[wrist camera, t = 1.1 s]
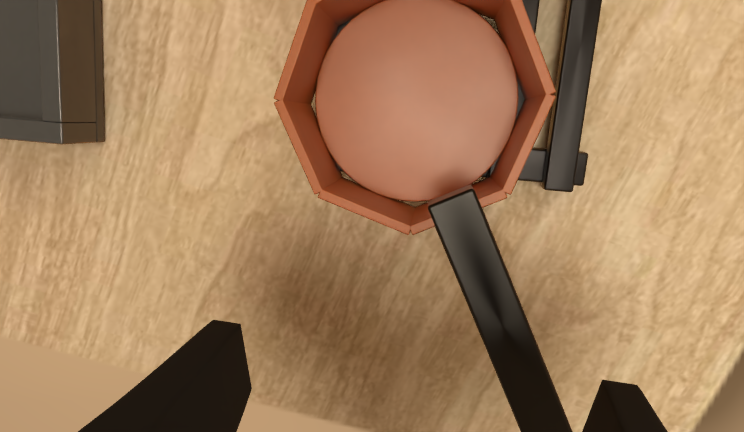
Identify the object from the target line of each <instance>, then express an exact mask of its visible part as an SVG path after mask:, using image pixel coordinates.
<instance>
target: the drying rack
mask: <svg viewBox="0 0 744 432" xmlns="http://www.w3.org/2000/svg"><path fill="white" fill-rule="evenodd" d="M539 1H540V0H522V2H523V4H524V7H525V10H526V12H527V15H528V18H529V20H530V23H531V26H532V28H533V31H534V34H535V32H536V24H537V16H538V9H539ZM601 2H602V0H568V1H567V8H566V15H565V22H564V29H563V36H562V44H561V51H560V58H559V65H558V72H557V79H556V86H555V90H556V92H555V93H554V96H556V98H555V100H554V102H553V108H552V115H551V122H550V129H549V136H548V143H547V149H541V148H532V150H531V152H530V154H529V156H528V158H527V161H526V163H525V165H524V167H523V169H522V171H521V174H520V176H519V178H518V180H522V181H533V182H542V188H543V189H545V190H553V191H564V192H572V191H573V186H574V185H579V186H582V185H583V184H584V178H585V171H586V165H587V158H588V154H587V153H585V152H579V147H580V140H581V134H582V127H583V121H584V114H585V107H586V101H587V94H588V88H589V81H590V75H591V68H592V61H593V55H594V48H595V42H596V35H597V29H598V22H599V16H600V9H601ZM350 21H351V20H350ZM350 21H348V22H346V23H344V24H342V25H340V26H339V27H338V29H337V32H336V35H335V38H336V36H337V35H338V34H339V32H340V31H341V30H342V29H343V28H344V27H345V26H346V25H347V24H348V23H349V22H350ZM335 38H334V39H335ZM517 82H518V81H517ZM524 100H525V99H524V97H523V94H522V91H521V89H520V86H519V84H518V108H517V115H516V118H517V116H518V113H519V111H520V109H521V107H522V105H523V102H524ZM498 158H499V157H498ZM497 160H498V159H497ZM497 160H496V162H497ZM496 162H495V163H494V164H493V165H492V166H491V167H490V168H489V170H488V171H487V172H486V173H485V174H483V175H482V176H481V177H487V178H489V177H490V176H491V174H492V171H493V169H494V167H495V165H496ZM337 165H338V164H337ZM338 168H339V170H340V171H341V172H344V171H343V170H342V169H341V167H340V166H339V165H338ZM515 185H516V184H515Z"/></svg>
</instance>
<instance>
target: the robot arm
mask: <svg viewBox="0 0 744 432" xmlns="http://www.w3.org/2000/svg"><path fill="white" fill-rule="evenodd" d="M251 389H252V387H251V382H250V376H249V370H248V365H247V359H246V353H245V347H244V342H243V336H242V330H241V324H237V323H231V322H224V321H218V320H212V321H211V322H210V323H209V324H207V325H206V326H205V327H204V328H203V329H202V330H200V331H199V332H198V333H197V334H196V335H195V336H193V337H192V338H191V339H190V340H189V341H188V342H187V343H185V344H184V345H183V346H182V347H181V348H180V349H179V350H177V351H176V352H175V353H174V354H173V355H172V356H171V357H169V358H168V359H167V360H166V361H165V362H164V363H162V364H161V365H160V366H159V367H158V368H157V369H155V370H154V371H153V372H152V373H151V374H150V375H148V376H147V377H146V378H145V379H144V380H142V381H141V382H140V383H139V384H138V385H137V386H135V387H134V388H133V389H132V390H130V391H129V392H128V393H127V394H126V395H124V396H123V397H122V398H121V399H119V400H118V401H117V402H116V403H114V404H113V405H112V406H111V407H109V408H108V409H107V410H105V411H104V412H103V413H102V414H100V415H99V416H98V417H97V418H95V419H94V420H92V421H91V422H90V423H89V424H87V425H86V426H85V427H83V428H82V429H81V430H80V431H78V432H236V431H237V429H238V426H239V423H240V421H241V418H242V415H243V412H244V410H245V407H246V404H247V401H248V398H249V395H250V392H251ZM582 432H667V430H666V429H665V427H664V426H663V424H662V422H661V421H660V419H659V418H658V416H657V415H656V413H655V411H654V410H653V408H652V407H651V405H650V403H649V402H648V400H647V399H646V397H645V396H644V394H643V392H642V391H641V390H640V388H639V387H638V386H637V385H633V384H627V383H620V382H614V381H607V380H602V382H601V385H600V387H599V390H598V392H597V395H596V397H595V400H594V403H593V405H592V408H591V410H590V413H589V416H588V418H587V421H586V423H585V426H584V429H583V431H582Z"/></svg>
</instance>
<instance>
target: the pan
mask: <svg viewBox="0 0 744 432" xmlns="http://www.w3.org/2000/svg"><path fill="white" fill-rule="evenodd" d="M479 14H481V15H484V16H486V17H489V18H491V19H494V21H495V24H496V26H497V29H498V31H499V34H500V36H499V34H498V33H497V32H496V31H495V29H494V28H493V27H492V26H491V25H490V24H489V23H488V22H487V21H486V20H485V19H484V18H483V17H481V16H480V15H479ZM350 20H351V21H350ZM348 21H350V22H349V23H348V24H347V25H346V26H345V27H344V28H343V29H342V30H341V31H340V32H339V34H338V35H337V36H336V38H335V35H336V32H337V29H338V27H339V26H340V25H342V24H344V23H346V22H348ZM334 38H335V39H334ZM517 81H518V82H517ZM518 84H519V86H520V89H521V91H522V94H523V97H524V99H525V100H524V102H523V105H522V107H521V109H520V111H519V113H518V116H517V118H516V115H517V108H518ZM315 91H316V100H315V105H316V115H317V117H316V115H315V112H314V110H313V108H312V106H311V103H312V100H313V97H314V94H315ZM555 92H556V90H555V87H554V84H553V82H552V79H551V76H550V74H549V71H548V68H547V66H546V63H545V60H544V58H543V55H542V52H541V50H540V47H539V44H538V42H537V39H536V36H535V34H534V31H533V28H532V26H531V23H530V20H529V18H528V15H527V12H526V10H525V7H524V4H523V2H522V0H307V1H306V4H305V7H304V10H303V13H302V16H301V19H300V22H299V25H298V28H297V31H296V34H295V37H294V40H293V43H292V46H291V49H290V52H289V55H288V57H287V60H286V63H285V66H284V69H283V72H282V75H281V78H280V81H279V84H278V87H277V90H276V93H275V96H274V99H276V100H278V101H276V102H275V103H274V104H275V106H276V109H277V111H278V113H279V115H280V118H281V120H282V122H283V124H284V127H285V129H286V131H287V133H288V136H289V138H290V140H291V142H292V145H293V147H294V149H295V151H296V154H297V156H298V158H299V160H300V163H301V165H302V167H303V169H304V172H305V174H306V176H307V178H308V181H309V183H310V185H311V187H312V190H313V192H314V194H318V193H319V195H318V198H320V199H323V200H325V201H327V202H330V203H332V204H335V205H337V206H339V207H342V208H344V209H347V210H349V211H352V212H354V213H356V214H359V215H361V216H364V217H366V218H368V219H371V220H373V221H376V222H378V223H380V224H383V225H385V226H388V227H390V228H393V229H395V230H397V231H400V232H402V233H405V234H407V235H409V233H410V231H411V233H412V235H414V234H417V233H419V232H422V231H424V230H427V229H429V228H432V227H435V228H436V230H437V232H438V235H439V237H440V239H441V242H442V244H443V247H444V249H445V251H446V254H447V256H448V259H449V261H450V263H451V266H452V268H453V271H454V273H455V275H456V278H457V280H458V283H459V285H460V287H461V290H462V292H463V294H464V297H465V299H466V302H467V304H468V306H469V309H470V311H471V314H472V316H473V318H474V321H475V323H476V326H477V328H478V330H479V333H480V335H481V338H482V340H483V342H484V345H485V347H486V349H487V352H488V354H489V357H490V359H491V361H492V364H493V366H494V369H495V371H496V373H497V376H498V378H499V381H500V383H501V385H502V388H503V390H504V393H505V395H506V397H507V400H508V402H509V404H510V407H511V409H512V412H513V414H514V416H515V419H516V421H517V424H518V426H519V428H520V431H521V432H572V429H571V427H570V424H569V422H568V419H567V417H566V414H565V412H564V409H563V407H562V404H561V402H560V400H559V397H558V395H557V392H556V390H555V387H554V385H553V382H552V380H551V377H550V375H549V372H548V370H547V367H546V365H545V362H544V360H543V357H542V355H541V353H540V350H539V348H538V345H537V343H536V340H535V338H534V335H533V333H532V330H531V328H530V325H529V323H528V320H527V318H526V315H525V313H524V311H523V308H522V306H521V303H520V301H519V298H518V296H517V293H516V291H515V288H514V286H513V283H512V281H511V278H510V276H509V273H508V271H507V268H506V266H505V264H504V261H503V259H502V256H501V254H500V251H499V249H498V246H497V244H496V241H495V239H494V236H493V234H492V231H491V229H490V226H489V224H488V221H487V219H486V217H485V214H484V212H483V209H482V208H483V207H485V206H488V205H490V204H493V203H496V202H498V201H501V200H503V199H506V198H507V195H506V193H507V194H511V193H512V191H513V189H514V187H515V184H516V182H517V180H518V178H519V176H520V174H521V171H522V169H523V167H524V165H525V163H526V161H527V158H528V156H529V154H530V152H531V150H532V148H533V145H534V143H535V141H536V139H537V137H538V135H539V132H540V130H541V128H542V126H543V124H544V122H545V119H546V117H547V115H548V113H549V111H550V109H551V106H552V104H553V102H554V100H555V98H556V96H554V95H551V94H553V93H555ZM498 157H499V158H498ZM497 159H498V160H497ZM496 160H497V162H496ZM495 162H496V165H495V167H494V169H493V171H492V174H491V176H490V177H489V178H486V179H484V180H481V181H479V182H476V183H474V182H475V181H476V180H478V179H479V178H480V177H481V176H482V175H483V174H485V173H486V172H487V171H488V170H489V168H490V167H491V166H492V165H493V164H494V163H495ZM337 164H338V165H339V166H340V167H341V169H342V170H343V171H344V172H345V173H346V174H347V175H348V176H350V177H351V178H352V179H353V180H354V181H355V182H357V183H355V182H353V181H350V180H348V179H346V178H343V177H342V174H341V172H340V170H339V168H338V165H337ZM472 183H474V184H472ZM470 184H471V185H470ZM399 200H401V201H428V200H430V201H429V202H427V203H424V204H422V205H419V206H417V207H414V206H411V205H409V204H406V203H404V202H401V201H399Z"/></svg>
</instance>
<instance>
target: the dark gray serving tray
mask: <svg viewBox="0 0 744 432" xmlns="http://www.w3.org/2000/svg"><path fill="white" fill-rule="evenodd" d="M0 139H8V140H19V141H30V142H42V143H53V144H76V143H93V142H104V100H103V57H102V14H101V0H0Z"/></svg>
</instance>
